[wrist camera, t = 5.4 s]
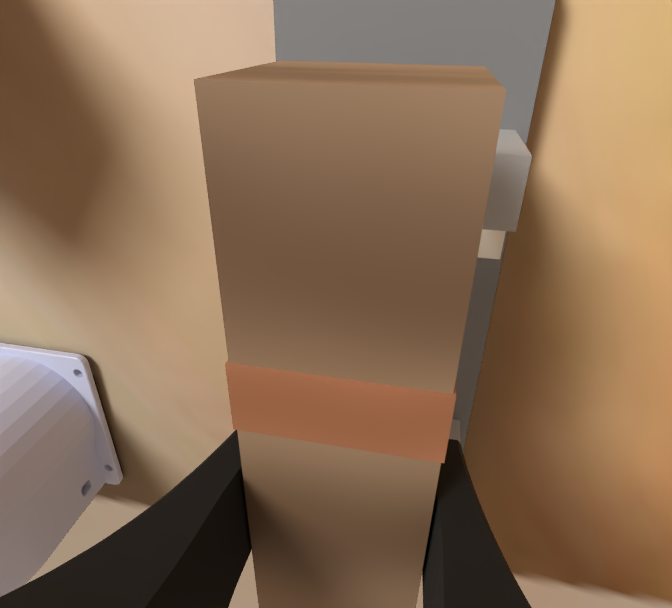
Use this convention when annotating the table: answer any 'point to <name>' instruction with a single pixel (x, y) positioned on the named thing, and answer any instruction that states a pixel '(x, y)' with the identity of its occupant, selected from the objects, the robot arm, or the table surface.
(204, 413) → the table surface
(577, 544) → the table surface
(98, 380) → the table surface
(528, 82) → the base plate
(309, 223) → the banded tan post
